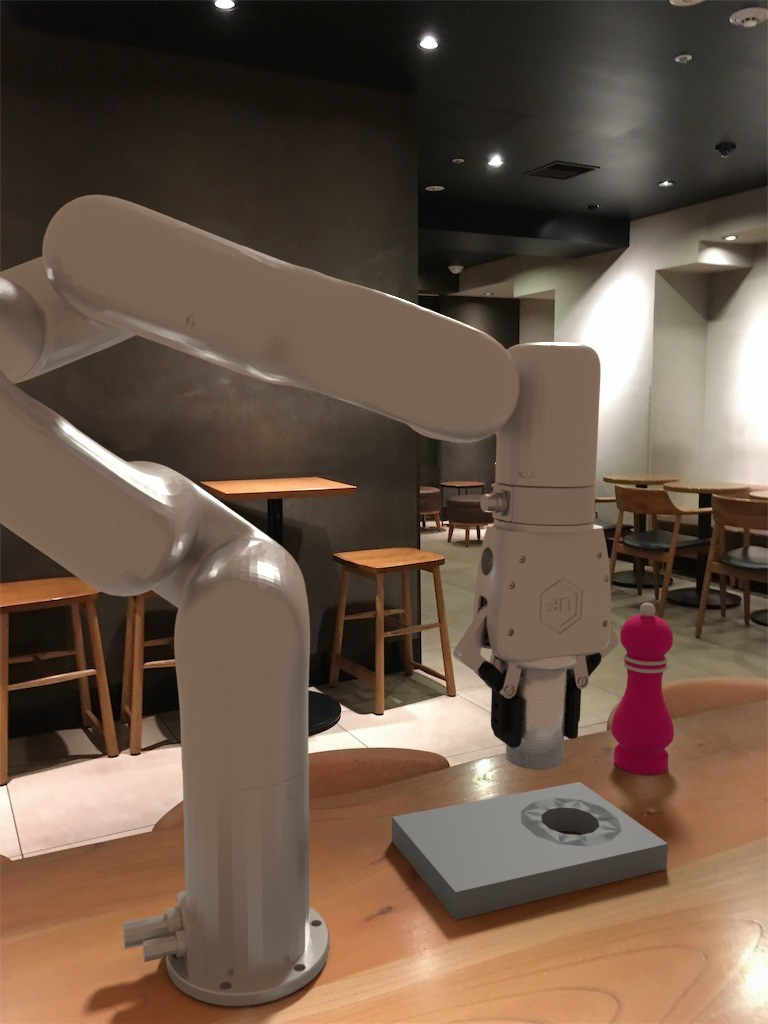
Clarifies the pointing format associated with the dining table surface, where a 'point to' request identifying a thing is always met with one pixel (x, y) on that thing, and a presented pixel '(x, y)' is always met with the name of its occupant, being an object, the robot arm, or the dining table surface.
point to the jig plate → (524, 848)
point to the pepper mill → (643, 696)
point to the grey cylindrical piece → (542, 713)
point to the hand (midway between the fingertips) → (535, 734)
